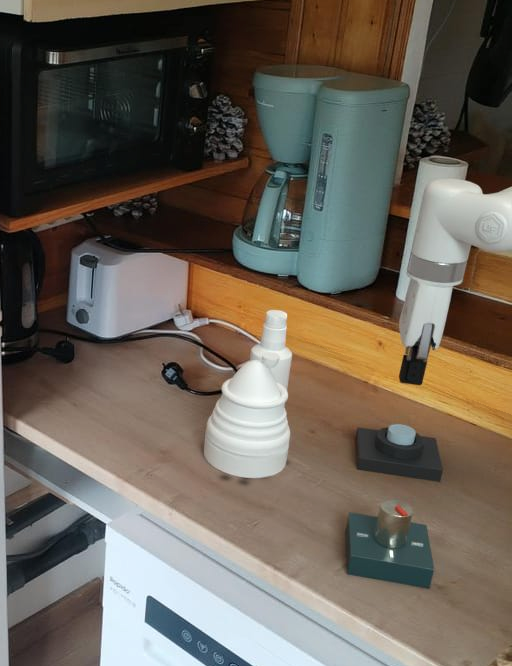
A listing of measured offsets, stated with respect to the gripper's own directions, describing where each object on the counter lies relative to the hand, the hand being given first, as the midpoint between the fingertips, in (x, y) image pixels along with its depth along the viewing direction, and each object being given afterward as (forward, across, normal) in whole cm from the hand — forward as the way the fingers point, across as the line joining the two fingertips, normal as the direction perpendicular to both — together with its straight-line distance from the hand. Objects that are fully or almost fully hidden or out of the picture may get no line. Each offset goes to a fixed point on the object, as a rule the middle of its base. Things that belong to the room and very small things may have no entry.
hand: (410, 381), depth 137 cm
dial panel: (+13, +27, -2) cm, 31 cm away
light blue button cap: (+10, 0, 0) cm, 10 cm away
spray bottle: (+14, -11, -20) cm, 27 cm away
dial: (+10, +27, -3) cm, 29 cm away
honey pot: (+14, +6, -22) cm, 27 cm away
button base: (+14, 0, 0) cm, 14 cm away
